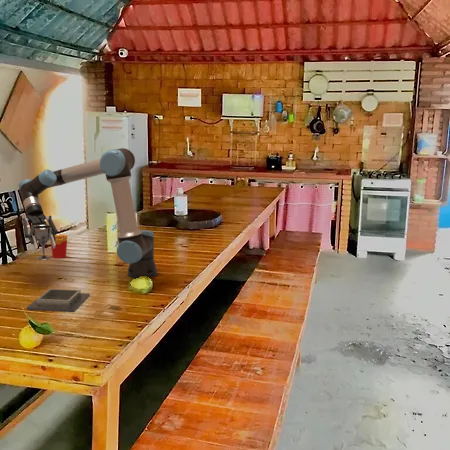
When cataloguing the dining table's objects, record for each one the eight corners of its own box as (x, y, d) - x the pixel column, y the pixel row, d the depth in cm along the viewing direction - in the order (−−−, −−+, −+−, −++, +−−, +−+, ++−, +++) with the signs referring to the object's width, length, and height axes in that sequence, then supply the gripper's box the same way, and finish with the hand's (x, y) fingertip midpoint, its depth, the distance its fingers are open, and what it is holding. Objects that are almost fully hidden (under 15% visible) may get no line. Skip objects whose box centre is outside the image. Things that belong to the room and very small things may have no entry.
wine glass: (34, 260, 238) (32, 228, 235) (35, 256, 245) (33, 225, 242) (52, 259, 240) (50, 228, 237) (53, 255, 247) (51, 224, 244)
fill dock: (89, 295, 231) (89, 288, 230) (74, 311, 211) (73, 303, 211) (46, 293, 232) (46, 286, 231) (26, 309, 213) (26, 301, 212)
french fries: (50, 258, 289) (49, 235, 286) (52, 256, 293) (51, 234, 290) (67, 258, 290) (66, 235, 288) (68, 256, 295) (68, 233, 292)
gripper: (53, 211, 257) (65, 249, 247) (10, 214, 245) (21, 255, 235) (56, 202, 251) (69, 241, 242) (12, 205, 239) (24, 246, 230)
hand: (45, 248), depth 239 cm, fingers closed on wine glass, 7 cm apart
